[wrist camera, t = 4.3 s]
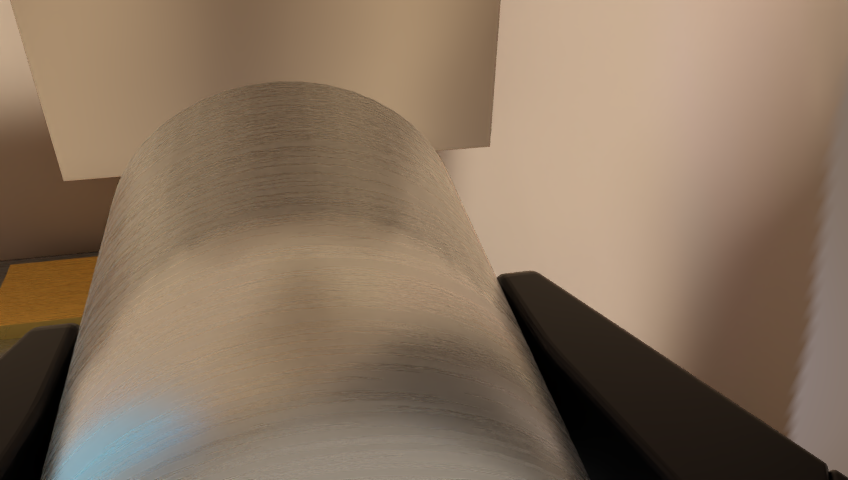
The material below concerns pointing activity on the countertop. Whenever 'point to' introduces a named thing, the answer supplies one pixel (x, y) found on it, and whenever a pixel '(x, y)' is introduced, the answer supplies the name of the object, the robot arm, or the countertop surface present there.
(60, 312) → the rack plate
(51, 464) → the steel peg
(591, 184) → the countertop surface
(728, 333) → the countertop surface
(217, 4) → the tab
